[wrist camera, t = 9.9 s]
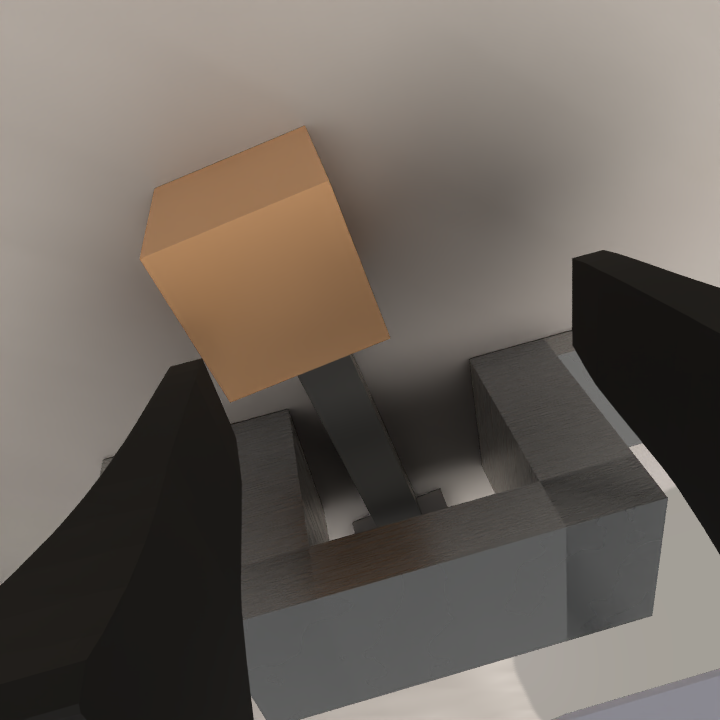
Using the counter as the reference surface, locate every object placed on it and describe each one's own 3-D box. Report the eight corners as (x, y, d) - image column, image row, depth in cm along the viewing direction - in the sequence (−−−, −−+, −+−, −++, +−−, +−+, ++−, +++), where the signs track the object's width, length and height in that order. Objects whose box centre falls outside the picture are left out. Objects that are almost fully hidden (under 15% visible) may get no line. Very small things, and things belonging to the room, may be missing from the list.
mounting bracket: (637, 422, 24) (769, 581, 18) (162, 556, 23) (145, 764, 17) (646, 309, 21) (808, 457, 15) (103, 460, 20) (59, 672, 14)
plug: (458, 518, 25) (495, 607, 22) (363, 555, 25) (385, 649, 22) (304, 125, 16) (328, 180, 12) (154, 188, 16) (139, 258, 13)
